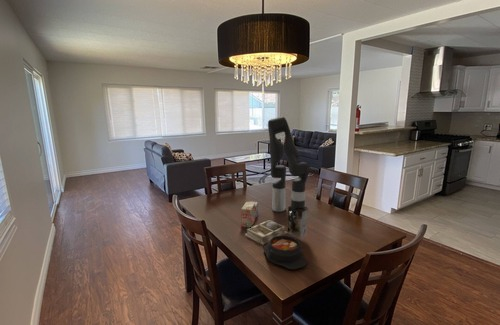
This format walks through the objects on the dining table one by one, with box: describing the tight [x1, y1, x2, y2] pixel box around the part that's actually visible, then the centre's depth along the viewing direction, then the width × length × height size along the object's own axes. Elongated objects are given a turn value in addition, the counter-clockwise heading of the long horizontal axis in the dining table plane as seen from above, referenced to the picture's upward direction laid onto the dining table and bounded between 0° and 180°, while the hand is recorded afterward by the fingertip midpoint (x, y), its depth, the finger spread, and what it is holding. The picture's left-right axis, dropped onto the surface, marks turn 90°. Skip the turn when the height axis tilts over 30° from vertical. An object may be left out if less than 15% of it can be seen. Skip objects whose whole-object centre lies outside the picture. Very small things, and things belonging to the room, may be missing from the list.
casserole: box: [263, 234, 308, 270], centre depth 126 cm, size 25×19×8 cm
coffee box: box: [286, 205, 309, 239], centre depth 143 cm, size 9×6×16 cm
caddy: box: [244, 219, 288, 246], centre depth 150 cm, size 20×15×5 cm
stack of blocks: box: [240, 201, 259, 228], centre depth 169 cm, size 21×6×12 cm, turn 166°
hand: (297, 225), depth 143 cm, fingers closed on coffee box, 6 cm apart
